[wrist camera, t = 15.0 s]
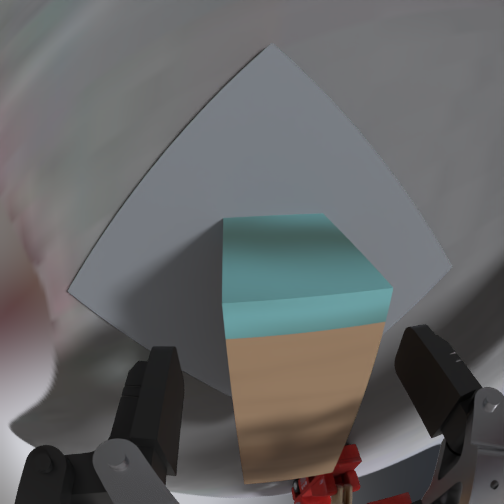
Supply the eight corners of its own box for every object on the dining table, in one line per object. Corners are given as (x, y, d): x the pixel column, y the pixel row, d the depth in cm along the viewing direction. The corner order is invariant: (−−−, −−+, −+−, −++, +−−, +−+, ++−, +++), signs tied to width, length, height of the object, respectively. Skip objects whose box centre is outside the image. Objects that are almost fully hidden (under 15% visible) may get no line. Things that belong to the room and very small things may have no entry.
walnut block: (332, 472, 11) (393, 287, 7) (244, 484, 10) (222, 303, 6) (307, 383, 16) (322, 213, 12) (237, 391, 16) (223, 218, 12)
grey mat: (270, 45, 10) (272, 42, 9) (448, 263, 14) (452, 266, 14) (70, 287, 13) (67, 291, 13) (270, 411, 18) (271, 416, 17)
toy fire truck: (287, 487, 24) (301, 564, 15) (338, 417, 19) (375, 532, 10) (317, 484, 25) (334, 558, 16) (376, 413, 19) (419, 516, 10)
